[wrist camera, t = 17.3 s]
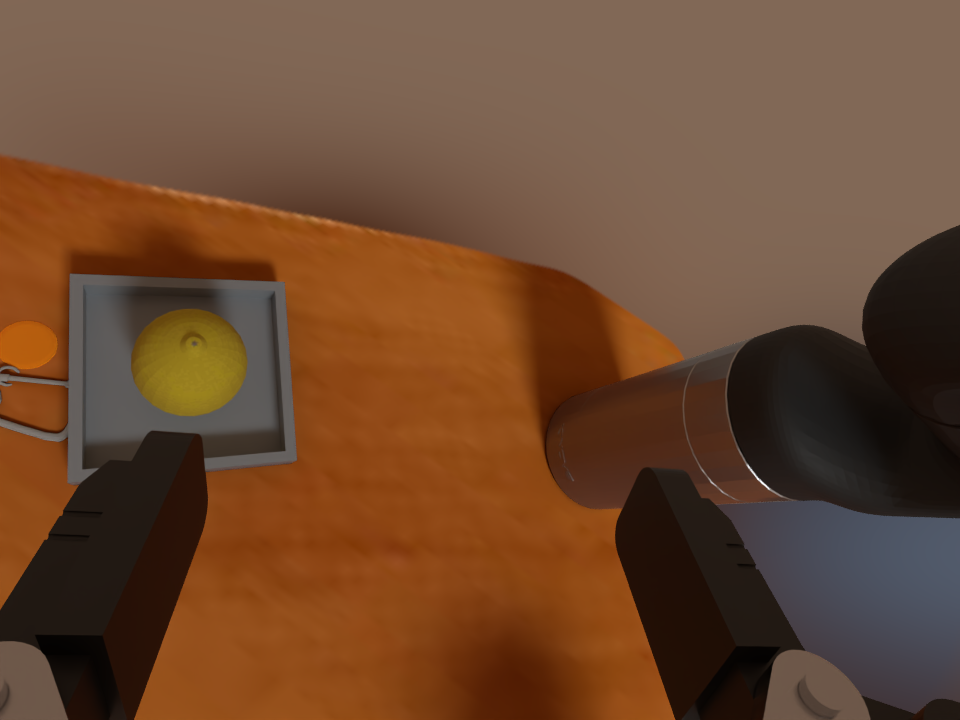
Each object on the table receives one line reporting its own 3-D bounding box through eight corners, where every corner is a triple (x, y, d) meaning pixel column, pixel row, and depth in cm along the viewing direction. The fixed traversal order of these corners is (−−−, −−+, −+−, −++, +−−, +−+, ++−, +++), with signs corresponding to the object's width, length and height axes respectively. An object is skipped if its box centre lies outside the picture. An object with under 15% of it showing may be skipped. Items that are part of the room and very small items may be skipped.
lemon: (167, 444, 33) (166, 422, 26) (115, 360, 33) (101, 316, 26) (257, 396, 36) (277, 366, 29) (210, 319, 36) (219, 270, 29)
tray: (279, 292, 39) (284, 281, 37) (290, 463, 37) (296, 460, 35) (74, 286, 34) (69, 273, 32) (73, 485, 31) (67, 483, 30)
